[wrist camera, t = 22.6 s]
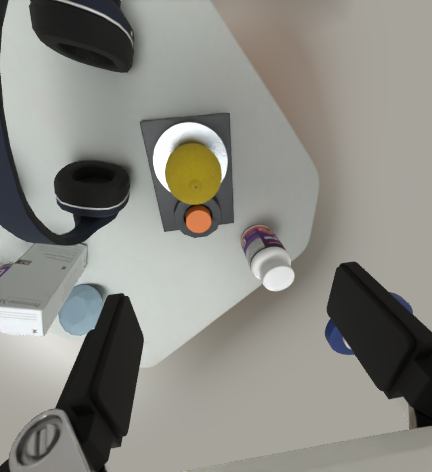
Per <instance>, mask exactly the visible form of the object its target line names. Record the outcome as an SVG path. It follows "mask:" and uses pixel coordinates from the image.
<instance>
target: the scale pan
mask: <svg viewBox="0 0 432 472" xmlns="http://www.w3.org/2000/svg"><path fill="white" fill-rule="evenodd" d="M189 143H196V144H201V145H203V146H205V147H207V148H209V149H210V150H211V151H212V152H213V153H214V154H215V155H216V157H217V158H218V160H219V163H220V165H221V170H222V180H221V183H222V181H223V179H224V177H225V175H226V172H227V167H228V156H227V151H226V148H225V145H224V143H223V141H222V140H221V138H220V137H219V136H218V135H217V134H216V133H215V132H214V131H213V130H212V129H211V128H209V127H207V126H205V125H203V124H200V123H197V122H182V123H178V124H175V125H173V126H171V127H170V128H168V129H167V130H166V131H165V132H164V133H163V134H162V135H161V136H160V138H159V139H158V141H157V143H156V145H155V148H154V152H153V166H154V170H155V173H156V176H157V178H158V180H159V181H160V183H161V184H162V185H163V186H164V187H165V188H166V189H167V190H168V191H169V192H171V191H170V190H169V188H168V186H167V183H166V181H165V173H164V172H165V165H166V162H167V160H168V157H169V156H170V154H171V153H172V152H173V151H174V150H175V149H177V148H178V147H179V146H182V145H184V144H189Z"/></svg>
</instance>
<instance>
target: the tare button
mask: <svg viewBox="0 0 432 472" xmlns="http://www.w3.org/2000/svg"><path fill="white" fill-rule="evenodd" d="M186 225H187V227H188V228H189V230H191V231H192V232H195V233H202V232H205V231H206V230H208V229H209V227H210V226H211V216H210V212H209V210H208V209H207V208H206V207H204V206H202V205H195V206H192V207H191V208H189V209H188V211H187V213H186Z"/></svg>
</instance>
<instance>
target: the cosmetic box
mask: <svg viewBox="0 0 432 472" xmlns="http://www.w3.org/2000/svg"><path fill="white" fill-rule="evenodd" d="M86 256H87V246H85V245H82V244H77V245H73V246H60V245H50V244H39V243H35V244H34V245H33V246H32V247H31V248H30V249H29V250H28V251H27V252H26V253H25V254H24V255H23V256H22V257H21V258H20V259H19V260H18V261H17V262H15V263H14V264H13V265H12V266H11V267H10V268H9V269H8V270H7V271H6V272H5V273H4V274H3V275H2V276H1V277H0V333H5V334H10V335H33V336H44V335H45V334H46V333H47V331H48V329H49V327H50V325H51V324H52V322H53V321H54V319H55V318H56V316H57V314H58V313H59V311H60V309H61V308H62V306H63V304H64V303H65V301H66V299H67V298H68V296H69V294H70V293H71V291H72V289H73V288H74V286H75V284H76V283H77V281H78V279H79V278H80V276H81V274H82V273H83V271H84V269H85V268H86Z"/></svg>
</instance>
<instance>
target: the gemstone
mask: <svg viewBox="0 0 432 472" xmlns="http://www.w3.org/2000/svg"><path fill="white" fill-rule="evenodd" d="M102 308H103V303H102V298H101V296H100V294H99V293H98V291H97V290H96V289H95V288H93V287H91V286H90V285H78V286H76V287H74V288H73V289H72V291H71V293H70V294H69V296H68V298H67V299H66V301H65V303H64V304H63V306H62V308H61V309H60V311H59V313H58V314H59V321H60V324H61V325H62V327H63V329H64V330H65V331H67V332H68V333H70V334H71V335H79V336H81V335H84V334H86V333H88V332H89V331H90V330H92V329H93V328H95V325H96V323H97V320H98V318H99V315H100V313H101V310H102Z"/></svg>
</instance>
